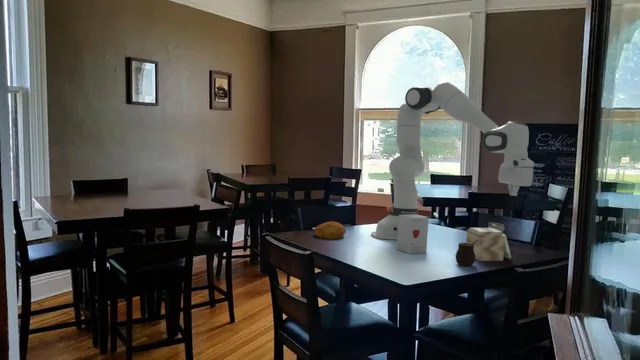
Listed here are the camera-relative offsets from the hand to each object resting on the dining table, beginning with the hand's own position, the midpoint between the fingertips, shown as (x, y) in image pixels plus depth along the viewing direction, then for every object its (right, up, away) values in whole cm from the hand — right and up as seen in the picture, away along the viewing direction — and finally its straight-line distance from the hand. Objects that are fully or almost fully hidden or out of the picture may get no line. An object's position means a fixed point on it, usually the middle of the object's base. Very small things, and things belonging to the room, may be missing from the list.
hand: (513, 195), depth 205 cm
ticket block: (-13, -25, -2) cm, 28 cm away
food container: (+1, -24, +22) cm, 33 cm away
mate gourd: (-24, -26, -17) cm, 39 cm away
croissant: (-74, -20, +30) cm, 83 cm away
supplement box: (-41, -24, +4) cm, 47 cm away
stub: (-6, -20, -1) cm, 21 cm away
